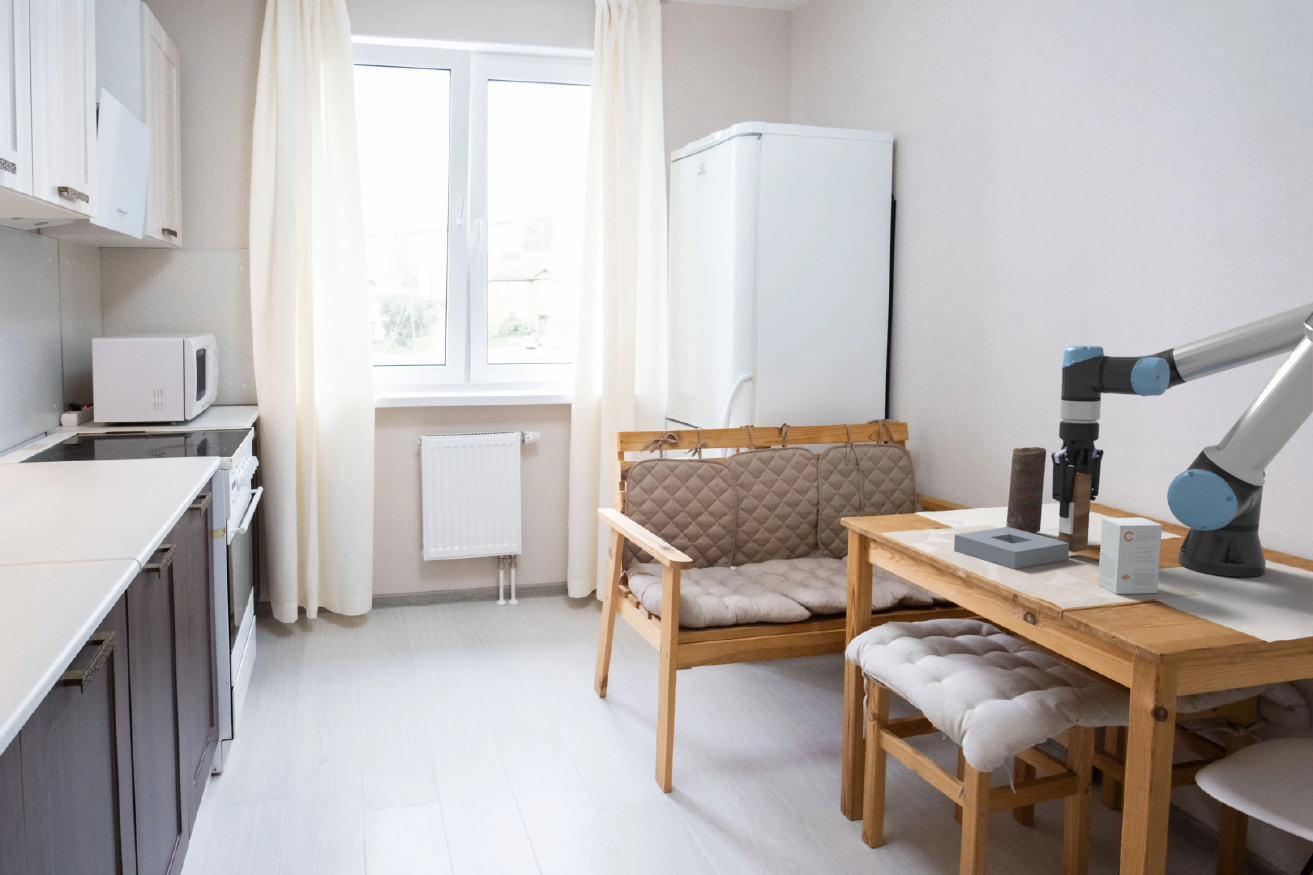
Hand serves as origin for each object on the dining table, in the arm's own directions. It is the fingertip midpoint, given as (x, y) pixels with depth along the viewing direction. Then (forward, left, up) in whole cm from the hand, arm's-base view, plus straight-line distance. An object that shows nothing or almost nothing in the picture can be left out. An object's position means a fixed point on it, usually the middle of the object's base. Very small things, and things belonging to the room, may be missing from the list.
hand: (1073, 531), depth 198 cm
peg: (0, 0, -4) cm, 4 cm away
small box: (-21, +11, -6) cm, 24 cm away
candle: (+18, -7, -6) cm, 20 cm away
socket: (+6, +11, -5) cm, 14 cm away
